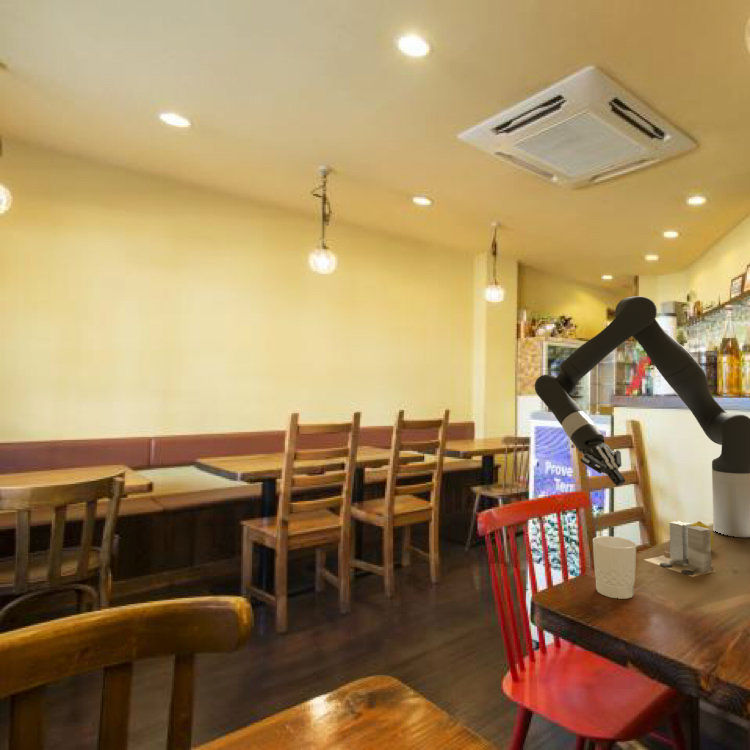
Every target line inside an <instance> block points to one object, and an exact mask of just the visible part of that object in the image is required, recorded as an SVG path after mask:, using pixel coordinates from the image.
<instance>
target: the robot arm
mask: <svg viewBox="0 0 750 750" xmlns="http://www.w3.org/2000/svg"><path fill="white" fill-rule="evenodd" d="M614 312H615V313H614V314H615V316H614V317H615V318H613V319H612V321H611V322H610V323H609V324H608V325H607V326H606V327H605V328H603V329H602V330H601V331H600V332H598V333H597V334H596V335H595V336H593V337H591V338H590V339H589V340H587V341H586V342H584V343H583V344H582V345H580V346H579V347H578V348H577V349H575V350H574V351H573V352H572V353H571V354H570V355H569V356H568V357H567V358H565V360H563V361H562V362H561V364H560V366H559V369H560V372H559V374H558V375H557V376H556V377H555V376H553V375H552V374H551V375H550V374H542V375H540V376H539V377H538V378H537V379H536V380H535V383H534V390H535V393H536V395H537V396H538V397H539V399H540V400H541V401H542V402H543V403H544V404H545V406H546V407H547V408H548V409H549V410H550V411H551V413H552V414H553V415H554V417H555V419H556V420H557V421H558V423H559V424H560V425H561V427H562V429H563V430H564V433H565V435H566V436H567V437H568V438H569V439H570V441H571V443H572V444H573V445H574V446H575V448H576V449H577V451H578V452H579V453H582V457H581V458H580V462H582V463H583V465H586V466H588V468H591V469H592V470H594V471H595V472H597V473H598V474H602V473H603V474H605V475H606V476H608V477H609V478H608V479H610V480H611V482H612V483H613V484H614V485H615V486H616V487H620V486H623V485H624V484H625V483H626V479H625V477H624V475H622V473H621V472H620V470H619V469H620V468H621V467H622V453H621V450H619V449H616V450H615V451H614V450H612V449H611V448H610V446H609V445H608V444H606V443H605V436H604V435H603V433H602V432H601V431H600V429H599V428H598V427H597V425H596V424H595V423H594V422H593V421H592V419H591V418H590V417H589V416H588V415H587V414H586V413H585V412H584V410H583V409H582V408H581V407H580V406H579V405H578V402H576V400H574V399H573V398H572V397H571V396H569V395H570V394H571V393H572V391H574V389H575V388H576V386H577V384H579V382H580V381H581V379H582V378H584V377H585V376H586V375H587V374H588V373H590V372H591V370H593V369H594V368H595V367H596V366H597V365H599V364H600V363H601V362H602V361H603V360H604V359H605V358H606V357H607V356H608V355H610V354H611V353H612V352H613V351H614V350H615V349H617V348H618V347H619V346H621V345H622V344H624V343H625V342H626V341H627V340H629V339H631V338H633V339H634V340H636V342H637V343H638V344H639V345H640V346H641V348H642V349H643V350H644V352H645V354H646V355H647V357H648V358H649V360H650V361H651V362H652V364H653V365H654V367H655V368H656V370H657V371H658V372H659V374H660V375H661V376H662V377H663V379H664V380H665V382H667V384H668V385H669V386H670V387H671V388H672V390H674V392H675V393H676V394H677V396H678V397H679V398H680V400H681V401H682V402H683V403H684V404H685V405H686V406H687V408H688V409H689V411H690V412H691V413H692V415H693V416H694V418H695V419H696V421H697V423H698V424H699V426H700V428H701V429H702V431H703V433H704V434H705V435H706V437H707V438H708V439H709V440H710V441H712V442H713V443H715V444H717V445H720V446H721V452H720V455H719V456H718V457H716V458H713V459H712V462H711V479H712V525H713V526H712V527H713V529H712V530H713V531H714V532H715V531H716V532H718V533H717V534H719V533H721V534H720V535H723V534H724V535H723V536H727V535H728V537H733V536H734V537H735V538H750V417H749V416H748V415H745V414H740V413H739V414H738V413H728V412H727V411H726V410H724V409H723V407H721V406H720V404H719V403H718V402H717V400H715V398H714V397H713V395H712V393H711V391H710V386H709V381H708V377H707V374H706V372H705V370H704V369H703V368H702V366H701V364H699V362H698V361H697V359H695V357H694V356H693V355H692V354H691V353H690V352H689V351H688V350H687V349H686V347H684V346H683V345H682V344H680V343H679V341H677V340H676V339H675V338H673V337H672V336H671V335H670V334H668V332H666V331H665V330H664V328H663V327H662V326H661V325H660V324H659V322H658V321H657V319H656V317H657V315H658V307H657V305H656V303H655V302H654V301H653V300H652V299H651V298H648V297H646V296H640V295H637V296H635V295H634V296H633V295H632V296H629V297H628V296H627V297H624V298H622V299H620V301H619V302H618V303H617V304H616V306H615V310H614ZM716 532H715V533H716Z"/></svg>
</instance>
